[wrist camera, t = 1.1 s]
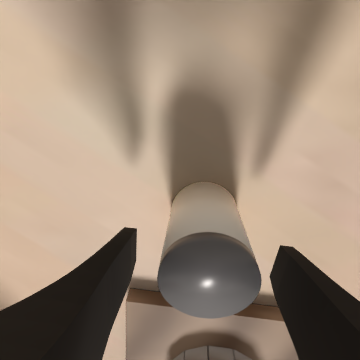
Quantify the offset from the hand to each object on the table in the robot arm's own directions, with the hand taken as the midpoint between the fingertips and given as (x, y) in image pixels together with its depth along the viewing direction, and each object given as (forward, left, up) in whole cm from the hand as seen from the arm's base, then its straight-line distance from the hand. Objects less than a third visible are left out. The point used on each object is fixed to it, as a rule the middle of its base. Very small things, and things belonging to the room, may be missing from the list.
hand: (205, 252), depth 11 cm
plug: (0, 0, -4) cm, 4 cm away
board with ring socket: (-3, +16, -4) cm, 17 cm away
